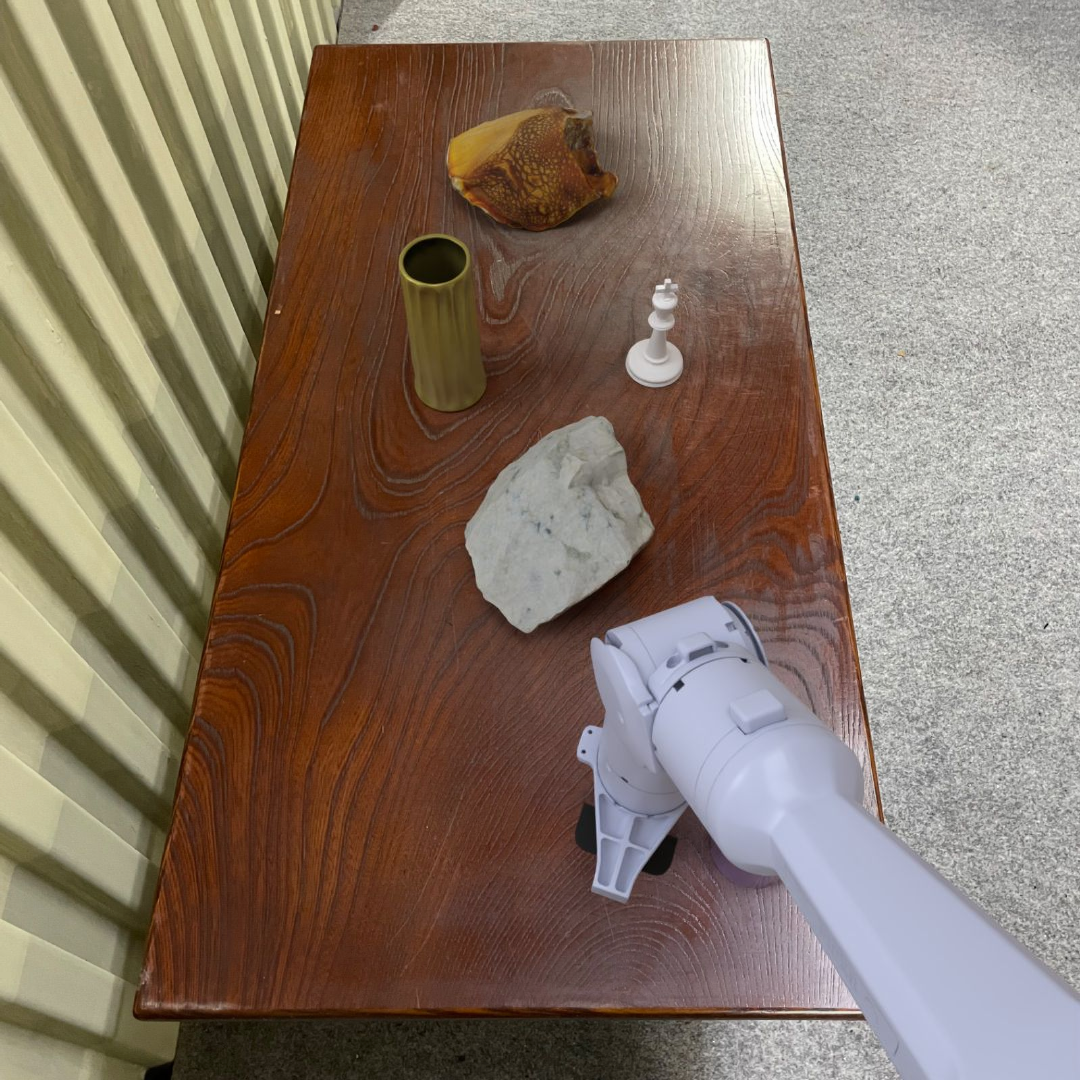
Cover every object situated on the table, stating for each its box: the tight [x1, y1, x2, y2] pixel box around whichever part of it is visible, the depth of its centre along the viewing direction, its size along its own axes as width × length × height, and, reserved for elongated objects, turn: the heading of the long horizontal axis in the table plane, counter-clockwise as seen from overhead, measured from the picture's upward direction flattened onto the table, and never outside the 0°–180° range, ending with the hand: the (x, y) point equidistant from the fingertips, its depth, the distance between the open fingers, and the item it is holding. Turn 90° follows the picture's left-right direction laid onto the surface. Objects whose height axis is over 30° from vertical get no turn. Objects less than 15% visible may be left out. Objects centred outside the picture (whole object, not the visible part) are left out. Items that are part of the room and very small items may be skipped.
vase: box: [398, 233, 488, 413], centre depth 74 cm, size 6×6×14 cm
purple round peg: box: [710, 836, 781, 890], centre depth 59 cm, size 5×5×6 cm
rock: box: [464, 415, 656, 635], centre depth 69 cm, size 15×16×8 cm
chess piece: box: [625, 278, 684, 388], centre depth 76 cm, size 5×5×10 cm
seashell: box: [445, 104, 620, 232], centre depth 89 cm, size 17×8×15 cm
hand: (634, 802), depth 60 cm, fingers closed on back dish, 5 cm apart
